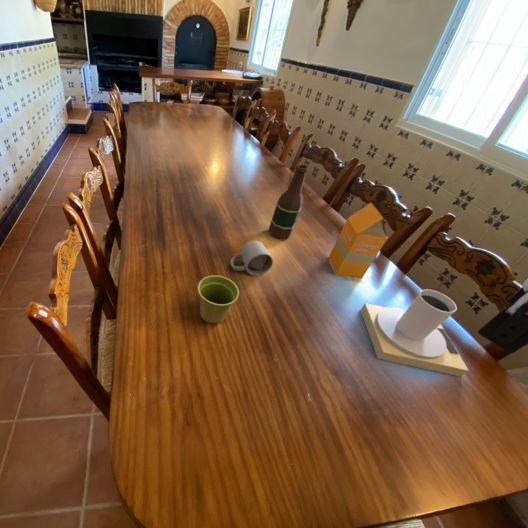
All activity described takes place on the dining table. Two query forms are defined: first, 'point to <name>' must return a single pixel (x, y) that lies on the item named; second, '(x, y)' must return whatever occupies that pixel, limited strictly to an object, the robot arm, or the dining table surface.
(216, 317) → the plant pot
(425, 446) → the dining table surface
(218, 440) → the dining table surface
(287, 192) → the beer bottle
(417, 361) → the scale
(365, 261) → the orange juice
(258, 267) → the ceramic mug
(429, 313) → the white cup
